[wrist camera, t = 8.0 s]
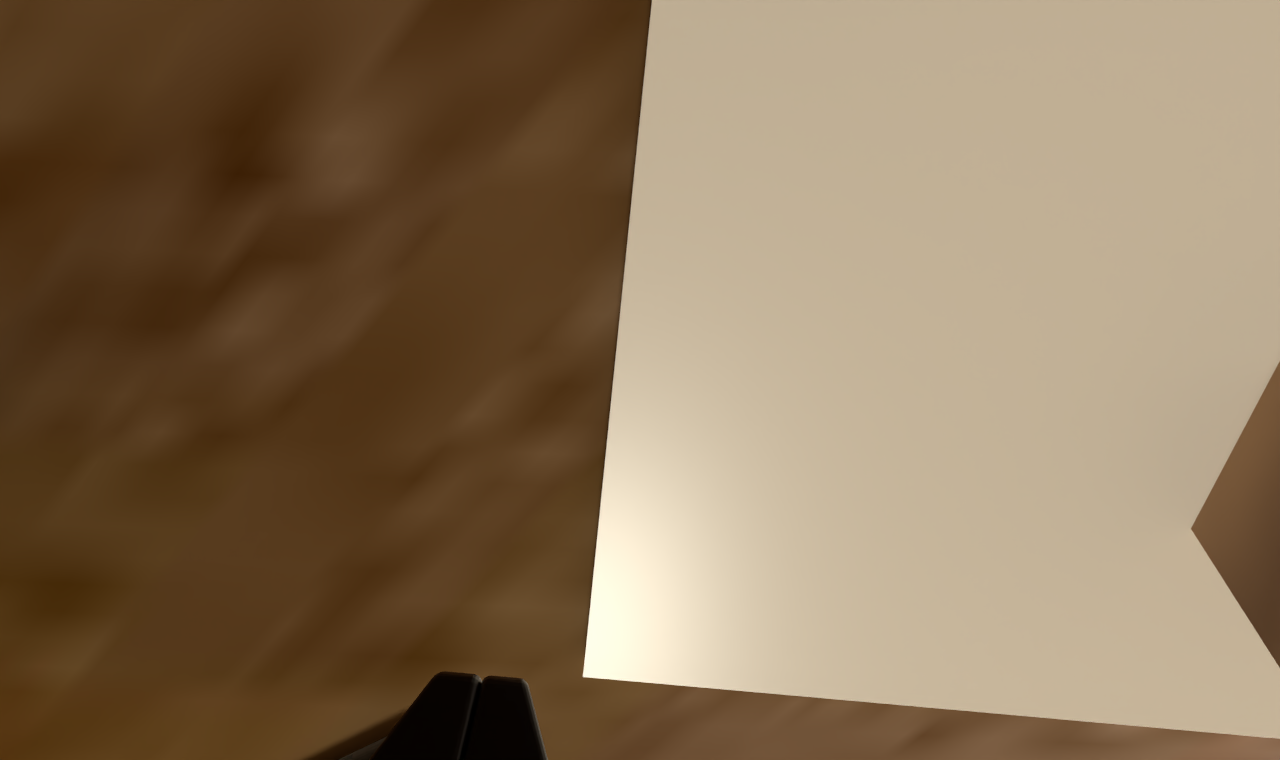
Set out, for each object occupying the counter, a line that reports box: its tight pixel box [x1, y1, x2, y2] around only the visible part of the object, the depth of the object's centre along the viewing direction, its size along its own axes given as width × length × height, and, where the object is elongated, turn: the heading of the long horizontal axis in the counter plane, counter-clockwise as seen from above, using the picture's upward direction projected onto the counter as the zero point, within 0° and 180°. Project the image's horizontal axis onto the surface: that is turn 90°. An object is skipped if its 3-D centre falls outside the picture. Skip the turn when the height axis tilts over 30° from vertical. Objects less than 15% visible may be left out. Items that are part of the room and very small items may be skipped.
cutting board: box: [583, 0, 1280, 739], centre depth 22 cm, size 22×18×1 cm
